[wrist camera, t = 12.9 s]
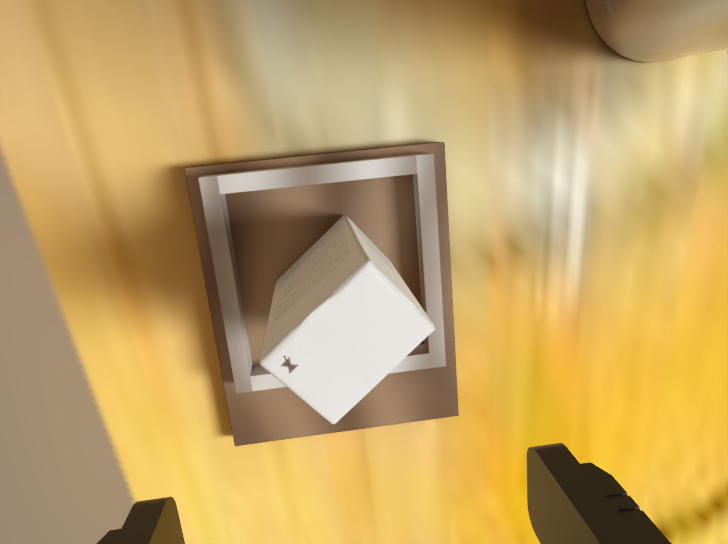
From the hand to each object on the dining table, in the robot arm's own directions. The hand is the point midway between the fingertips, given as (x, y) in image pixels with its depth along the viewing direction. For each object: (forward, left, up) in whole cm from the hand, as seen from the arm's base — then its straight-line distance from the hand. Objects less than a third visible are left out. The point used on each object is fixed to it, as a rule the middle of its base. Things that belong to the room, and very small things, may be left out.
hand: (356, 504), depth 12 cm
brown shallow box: (0, +2, -22) cm, 22 cm away
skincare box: (0, 0, -21) cm, 21 cm away
